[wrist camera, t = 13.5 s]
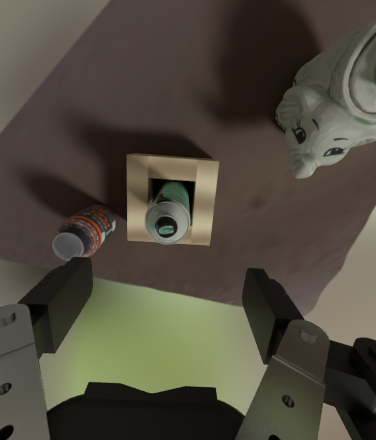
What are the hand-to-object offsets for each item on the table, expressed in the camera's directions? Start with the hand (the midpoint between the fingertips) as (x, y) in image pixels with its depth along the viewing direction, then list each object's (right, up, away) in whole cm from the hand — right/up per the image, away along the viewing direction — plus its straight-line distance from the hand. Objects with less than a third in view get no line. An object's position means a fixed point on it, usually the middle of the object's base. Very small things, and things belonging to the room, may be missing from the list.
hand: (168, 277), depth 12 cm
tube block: (-2, +8, +31) cm, 32 cm away
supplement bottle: (-16, +3, +33) cm, 37 cm away
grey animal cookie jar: (+20, +21, +28) cm, 40 cm away
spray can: (-2, +8, +32) cm, 33 cm away
